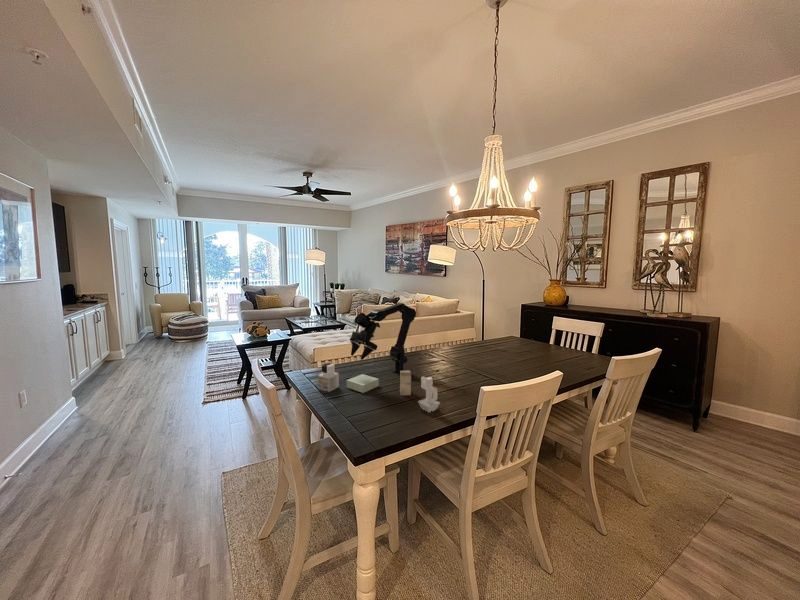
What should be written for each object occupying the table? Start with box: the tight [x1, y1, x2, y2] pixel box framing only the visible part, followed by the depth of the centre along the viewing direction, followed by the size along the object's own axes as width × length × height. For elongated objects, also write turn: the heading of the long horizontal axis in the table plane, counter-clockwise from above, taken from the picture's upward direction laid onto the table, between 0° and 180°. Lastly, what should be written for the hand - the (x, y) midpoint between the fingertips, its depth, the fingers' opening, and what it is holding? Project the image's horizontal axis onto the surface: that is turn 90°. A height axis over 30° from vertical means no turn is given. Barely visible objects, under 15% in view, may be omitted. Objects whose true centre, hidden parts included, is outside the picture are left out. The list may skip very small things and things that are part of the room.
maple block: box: [399, 370, 412, 396], centre depth 169 cm, size 5×5×11 cm
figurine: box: [417, 376, 441, 414], centre depth 150 cm, size 7×9×15 cm
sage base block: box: [346, 373, 380, 394], centre depth 177 cm, size 12×12×4 cm
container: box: [317, 362, 340, 393], centre depth 175 cm, size 8×8×13 cm
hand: (356, 357), depth 180 cm, fingers open, 9 cm apart
